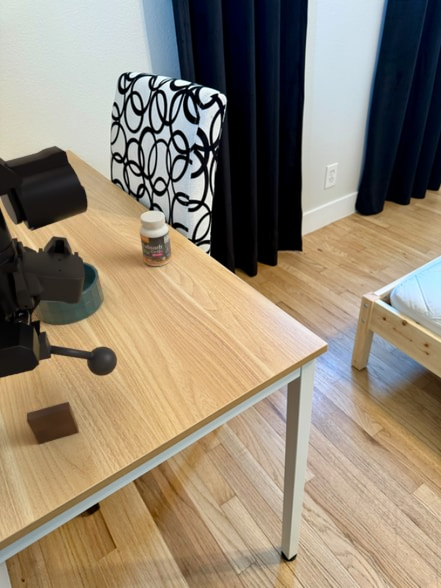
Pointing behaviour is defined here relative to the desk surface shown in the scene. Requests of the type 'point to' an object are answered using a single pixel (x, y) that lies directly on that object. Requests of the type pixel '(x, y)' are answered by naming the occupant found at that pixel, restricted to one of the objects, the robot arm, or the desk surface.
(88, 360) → the ladle
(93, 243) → the desk surface
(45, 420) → the chocolate brown square
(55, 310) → the bowl
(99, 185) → the desk surface
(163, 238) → the pill bottle
